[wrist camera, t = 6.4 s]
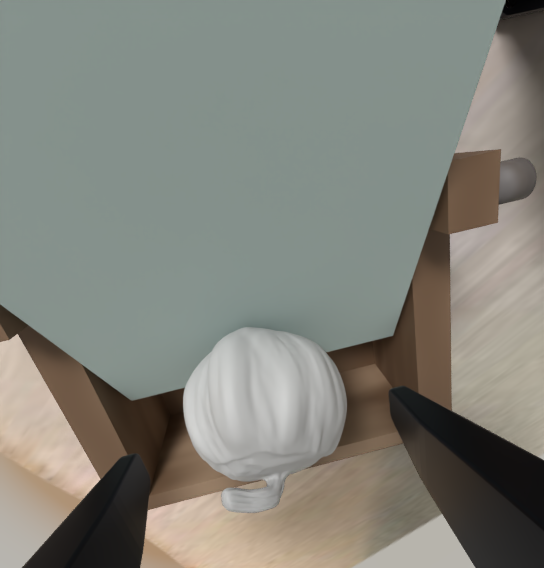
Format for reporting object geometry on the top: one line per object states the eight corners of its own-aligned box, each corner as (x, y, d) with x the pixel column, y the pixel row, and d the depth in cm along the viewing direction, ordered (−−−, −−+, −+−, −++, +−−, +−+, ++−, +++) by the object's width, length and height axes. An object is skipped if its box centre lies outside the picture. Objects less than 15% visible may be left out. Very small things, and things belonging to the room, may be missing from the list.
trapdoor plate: (539, -264, 4) (605, -297, 4) (383, 317, 15) (392, 335, 14) (-413, -86, 4) (-531, -87, 3) (133, 379, 14) (131, 400, 14)
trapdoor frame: (381, -37, 13) (576, -316, 6) (408, 357, 20) (512, 468, 13) (-40, 51, 13) (-447, -129, 5) (137, 425, 20) (76, 584, 12)
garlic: (142, 349, 11) (128, 540, 8) (268, 277, 9) (315, 498, 6) (248, 381, 15) (265, 512, 12) (348, 338, 13) (399, 482, 10)
